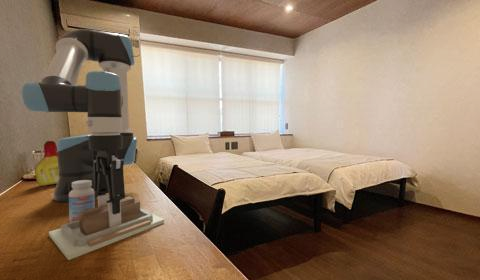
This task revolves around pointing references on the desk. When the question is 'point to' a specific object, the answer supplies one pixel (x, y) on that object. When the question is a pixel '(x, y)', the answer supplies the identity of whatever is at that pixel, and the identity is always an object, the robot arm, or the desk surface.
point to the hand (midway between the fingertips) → (109, 221)
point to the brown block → (99, 219)
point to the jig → (99, 234)
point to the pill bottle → (80, 198)
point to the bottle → (48, 165)
